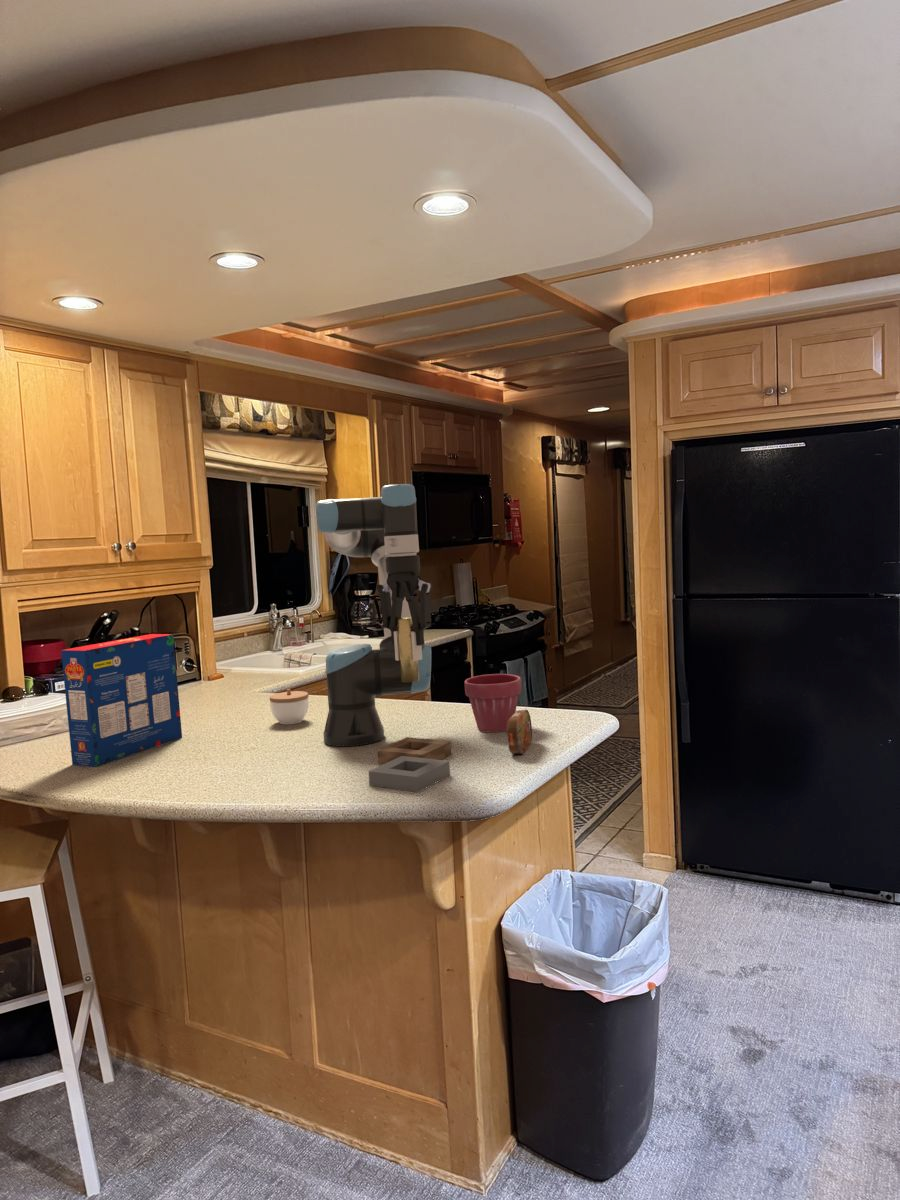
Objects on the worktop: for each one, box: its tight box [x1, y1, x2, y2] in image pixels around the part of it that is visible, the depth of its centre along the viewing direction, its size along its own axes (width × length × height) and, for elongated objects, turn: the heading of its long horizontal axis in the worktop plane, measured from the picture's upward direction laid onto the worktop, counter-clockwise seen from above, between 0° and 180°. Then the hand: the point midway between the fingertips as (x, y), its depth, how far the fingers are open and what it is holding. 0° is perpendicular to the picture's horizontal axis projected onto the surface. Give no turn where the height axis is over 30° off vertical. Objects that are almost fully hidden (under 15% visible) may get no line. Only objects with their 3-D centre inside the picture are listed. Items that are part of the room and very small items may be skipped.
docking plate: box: [368, 756, 451, 793], centre depth 170 cm, size 12×12×3 cm
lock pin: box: [397, 617, 419, 682], centre depth 184 cm, size 4×4×14 cm
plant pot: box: [464, 673, 522, 733], centre depth 210 cm, size 14×14×13 cm
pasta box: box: [60, 633, 183, 768], centre depth 209 cm, size 28×8×28 cm, turn 154°
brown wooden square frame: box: [376, 736, 453, 765], centre depth 187 cm, size 12×12×3 cm
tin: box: [506, 709, 533, 755], centre depth 189 cm, size 15×3×8 cm, turn 163°
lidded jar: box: [269, 688, 310, 726], centre depth 232 cm, size 11×11×9 cm
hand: (408, 659), depth 184 cm, fingers closed on lock pin, 4 cm apart
